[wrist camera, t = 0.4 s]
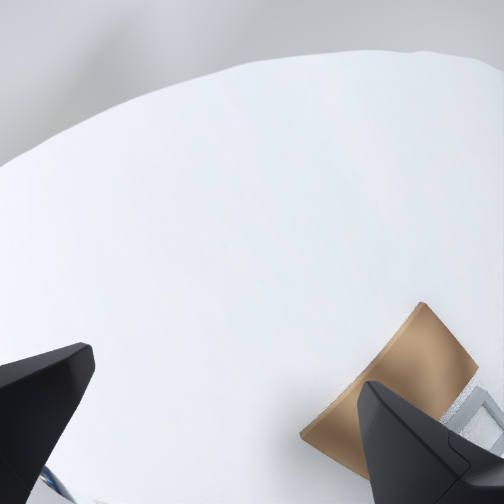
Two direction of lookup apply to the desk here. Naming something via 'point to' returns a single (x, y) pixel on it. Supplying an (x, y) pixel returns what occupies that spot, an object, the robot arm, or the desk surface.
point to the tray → (471, 408)
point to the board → (397, 385)
